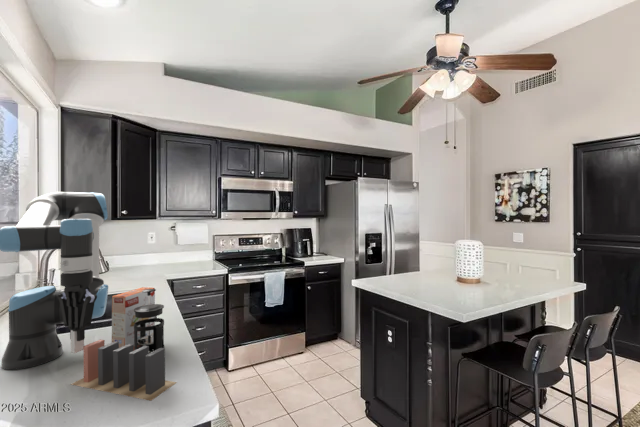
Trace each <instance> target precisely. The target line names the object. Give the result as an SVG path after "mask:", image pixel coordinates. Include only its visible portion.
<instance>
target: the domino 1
mask: <svg viewBox="0 0 640 427" xmlns="http://www.w3.org/2000/svg"><path fill="white" fill-rule="evenodd" d="M118 348H119V342H112V341H111V342H110V343H108V344H105V346H103V347H100V348H98V385H105V384H106V383H108V382H110V381H112V380H113V351H114V350H116V349H118Z"/></svg>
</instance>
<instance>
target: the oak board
mask: <svg viewBox="0 0 640 427" xmlns="http://www.w3.org/2000/svg"><path fill="white" fill-rule="evenodd" d="M177 383H178V382H176V381H171V380H166V379H165V385H164V386H163V387H161V388H160V389H158V390H157V391H155V392H154V393H153V394H151V395H149V394H146V384H145V385H144V386H142V387H141V388H139V389H137V390H136V391H134V392H133V391H129V382H128V383H127V384H125V385H123V386H121V387H120V388H113V380H112V381H110V382H108V383H106V384H105V385H98V378H96V379H94V380H92V381H90V382H88V383H87V382H84V377H82V378H80V379H78V380H76V381H74V382H72V383H70V385H72V386H77V387H82V388H85V389H92V390H95V391H96V390H97V391H100V392H106V393H111V394H116V395H121V396H126V397H131V398H134V399H135V398H136V399H140V400H146V401H150V402H151V401H153V400H154V399H156V398H157V397H159V396H160V395H161V394H164V392H165V391H167V390H168V389H170V388H171V387H173V386H174V385H175V384H177Z"/></svg>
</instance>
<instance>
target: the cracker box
mask: <svg viewBox="0 0 640 427" xmlns="http://www.w3.org/2000/svg"><path fill="white" fill-rule="evenodd" d="M146 289H156V288H155V287H147V286H146V287H144V286H142V287H139V288H136V289H132V290H128V291H125V292H122V293H118V294H115V295H112V296H111V343H112V342H119V348H120V347H123V346H125V345H127V344H134V324H135V323H136V322H138V321H141V320H145V319H149V318H137V317H135V312H134V309H135V308H137V307H140V306H144V305H149V304H148V296H147V292H142V291H143V290H146ZM155 299H156V292H155V291H153V292H151V295H150V305H151V304H156V303H155V301H156V300H155ZM151 318H156V316H155V317H150V319H151ZM155 323H156V322H150V326H154V325H156V324H155ZM148 326H149V323H146V327H148ZM137 327H140V325H138V326H137ZM147 335H149V331H146V336H147ZM150 335H153V330H150ZM138 338H140V331H137V339H138ZM138 347H140V346H138V345H137V348H138Z"/></svg>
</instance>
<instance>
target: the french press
mask: <svg viewBox="0 0 640 427" xmlns="http://www.w3.org/2000/svg"><path fill="white" fill-rule="evenodd" d="M153 291H157V289H156V288H155V289H146V290H143V291H142V292H147V296H148V304H149V305H144V306H140V307H137V308H135V309H134V312H135V317H137V318H149V319H145V320H141V321H138V322H136V323H135V324H134V350H136V349H139V348H141V347H143V346H149V352H150V351H152V352H153V351H155V350H157V349H159V348H165V344H164V342H165V341H164V340H165V339H164V338H165V337H164V336H165V335H164V330H165V329H164V325H165V319H164V318H161V317H160V318H159V317H158V316H160V315H162V314H163V311H164V310H163V309H164V308H165V305H164V304H160V303H159V304H158V303H155V304H151V305H150V295H151V292H153ZM150 317H155V318H151V319H150ZM150 322H155V323H158V324H155V325H154V326H150ZM146 323H149V326H148V327H146ZM138 325H140V327H137V326H138ZM150 330H153V335H150ZM137 331H140V338H138V339H137ZM146 331H149V335H147V336H146ZM137 345H138V346H140V347H138V348H137Z"/></svg>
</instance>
